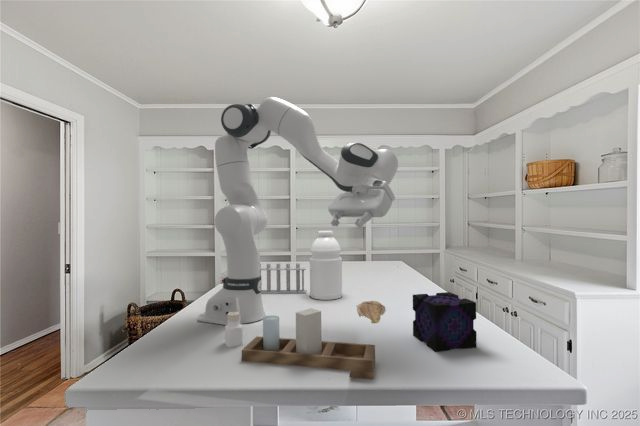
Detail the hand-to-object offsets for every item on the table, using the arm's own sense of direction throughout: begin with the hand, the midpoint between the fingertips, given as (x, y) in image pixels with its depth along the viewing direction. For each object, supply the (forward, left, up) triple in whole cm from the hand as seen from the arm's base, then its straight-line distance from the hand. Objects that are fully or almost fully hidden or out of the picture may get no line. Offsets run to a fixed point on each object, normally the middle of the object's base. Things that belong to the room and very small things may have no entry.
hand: (345, 225), depth 96 cm
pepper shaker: (-29, -11, -33) cm, 45 cm away
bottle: (-16, +49, -33) cm, 61 cm away
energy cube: (+26, +5, -33) cm, 42 cm away
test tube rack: (-38, +52, -33) cm, 72 cm away
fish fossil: (+4, +29, -33) cm, 44 cm away
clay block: (-7, -16, -31) cm, 36 cm away
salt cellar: (-16, -16, -31) cm, 39 cm away
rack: (-7, -16, -32) cm, 37 cm away
